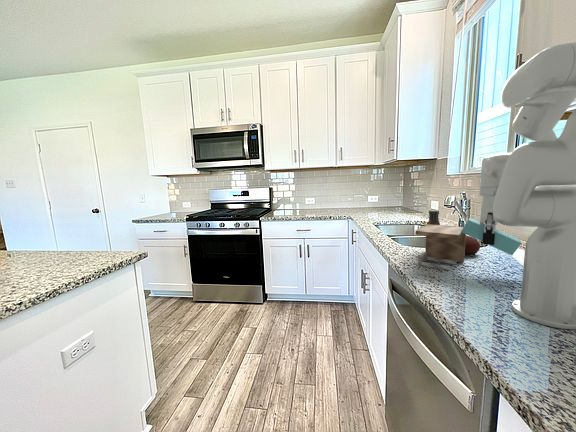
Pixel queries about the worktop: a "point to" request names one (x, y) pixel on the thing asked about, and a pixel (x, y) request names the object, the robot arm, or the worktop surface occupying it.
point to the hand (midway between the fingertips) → (488, 241)
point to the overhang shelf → (442, 245)
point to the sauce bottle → (433, 219)
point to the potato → (471, 246)
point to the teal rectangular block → (501, 239)
